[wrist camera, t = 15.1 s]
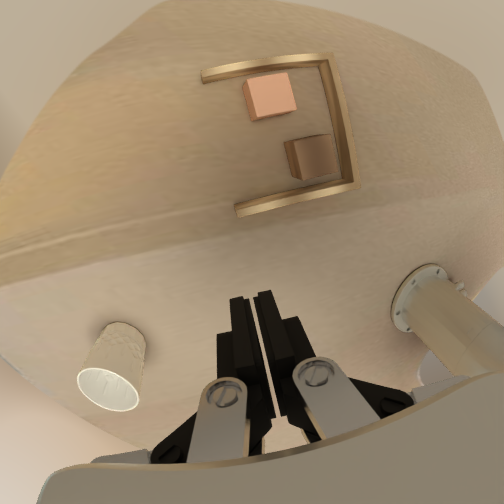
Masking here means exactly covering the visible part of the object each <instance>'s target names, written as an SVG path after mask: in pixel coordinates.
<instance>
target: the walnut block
mask: <svg viewBox="0 0 504 504" xmlns="http://www.w3.org/2000/svg"><path fill="white" fill-rule="evenodd" d="M284 146H285V149H286V153H287V157H288V161H289V165H290V169H291V173H292V176H293V177H295V178H298V179H300V180H307V179H311V178H315V177H319V176H323V175H326V174H331V173H335V172H339V171H338V166H337V162H336V157H335V152H334V148H333V143H332V139H331V135H330V134H323V135H314V136H309V137H305V138H300V139H296V140H291V141H287V142H284Z"/></svg>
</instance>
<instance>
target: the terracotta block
mask: <svg viewBox="0 0 504 504" xmlns="http://www.w3.org/2000/svg"><path fill="white" fill-rule="evenodd" d="M242 88H243V91H244V95H245V99H246V102H247V106H248V110H249V113H250V117H251V121H254V120H258V119H263V118H267V117H272V116H277V115H282V114H287V113H290V112H292V111H295V110H297V108H296V104H295V100H294V96H293V92H292V89H291V85H290V82H289V78H288V75H287V72H286V73H280V74H273V75H267V76H261V77H256V78H251V79H247V80H246V82H245V84H244V85H243V87H242Z"/></svg>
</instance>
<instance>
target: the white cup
mask: <svg viewBox="0 0 504 504" xmlns="http://www.w3.org/2000/svg"><path fill="white" fill-rule="evenodd" d="M145 349H146V343H145V340H144V337H143V335H142V334H141V333H140V332H139V331H138V330H137V329H136V328H134V327H132V326H130V325H129V324H127V323H120V322H115V323H112V324H108V325H107V326H106V327H105V329H104V330H103V331H102V333H101V335H100V336H99V338H98V339H97V340H96V342H95V344H94V346H93V347H92V349H91V351H90V352H89V354H88V356H87V358H86V360H85V362H84V364H83V366H82V368H81V370H80V372H79V374H78V376H77V383H78V386H79V388H80V390H81V392H82V393H83V394H84V395H85V396H86V397H87V398H88V399H89V400H91V401H92V402H93V403H95V404H97V405H99V406H101V407H103V408H106V409H109V410H113V411H128V410H131V409H133V408H135V407H136V406H137V405H138V402H139V396H140V389H141V382H142V376H143V368H144V354H145Z"/></svg>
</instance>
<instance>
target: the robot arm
mask: <svg viewBox="0 0 504 504" xmlns="http://www.w3.org/2000/svg"><path fill="white" fill-rule="evenodd" d="M463 287H464V282H463V281H462V280H461V281H459V282H457V283H456V284H453V283H452V282H450V281H449V280H448V276H447V273H446V272H445V270H444V269H443V268H441V267H440V266H438V265H435V264H428V265H425V266H422V267H420V268H418V269H417V270H415V271H414V272H413V273H412V274H411V275H409V277H408V278H407V279H406V280H405V281H404V282H403V284H402V285H401V286H400V288H399V290H398V292H397V293H396V296H395V298H394V301H393V304H392V310H391V317H392V321H393V323H394V325H395V326H396V327H397V328H398V329H399V330H400V331H402V332H406V333H409V332H414V333H415V334H416V335H417V336H418V337H419V338H420V339H421V340H422V341H423V342H424V343H425V345H426V346H427V347H428V348H429V349H430V350H431V351H432V352H433V353H434V354H435V355H436V357H437V358H438V359H439V360H440V361H441V362H442V363H443V364H444V365H445V367H446V368H447V369H448V370H449V371H450V372H451V373H452V375H453V376H454V377H452V378H449V379H446V380H443V381H439V382H436V383H432V384H429V385H425V386H421V387H417V388H413V389H412V391H411V392H409V393H406V392H403V391H401V390H397V389H393V388H388V387H384V386H380V385H376V384H372V383H368V382H364V381H360V380H356V379H353V378H349V377H347V376H346V375H345V373H344V372H343V371H342V370H341V368H340V367H339V366H338V365H337V364H336V363H335V362H334V361H333V360H331V359H329V358H325V357H316V355H315V353H314V351H313V349H312V346H311V344H310V342H309V340H308V338H307V335H306V333H305V331H304V329H303V326H302V324H301V322H300V320H299V318H298V316H295V317H291V318H287V319H283V320H282V319H281V316H280V314H279V311H278V308H277V305H276V303H275V300H274V297H273V294H272V291H271V290H268V291H263V292H259V293H258V296H257V297H253V299H254V304H255V308H256V312H257V317H258V321H259V325H260V330H261V334H262V338H263V343H264V347H265V351H266V356H267V360H268V364H269V368H270V373H271V377H272V381H273V385H274V389H275V394H276V398H277V402H278V406H279V410H280V414H281V417H282V416H286V415H287V418H288V422H289V423H290V424H292V425H294V426H296V427H299V428H300V429H301V432H302V434H303V436H304V438H305V440H306V442H307V445H303V446H299V447H295V448H291V449H286V450H282V451H277V452H272V453H267V454H265V439H264V436H265V434H266V433H267V432H268V431H269V430H270V429H271V427H272V423H271V419H273V418H276V414H275V410H274V405H273V401H272V396H271V392H270V387H269V383H268V378H267V374H266V369H265V365H264V360H263V355H262V351H261V347H260V343H259V339H258V335H257V330H256V326H255V322H254V318H253V314H252V310H251V305H250V301H249V298H248V299H244V298H243V296H241V297H236V298H232V299H230V313H231V325H232V331H230V332H225V333H220V334H217V379H216V380H214V381H212V382H211V383H209V384H208V385H207V386H206V387H205V388H204V389H203V392H202V394H201V398H200V402H199V407H198V411H197V412H196V413H195V414H194V415H193V416H191V417H190V418H189V419H188V420H187V421H186V422H184V423H183V424H182V425H181V426H180V427H178V428H177V429H176V430H175V431H174V432H172V433H171V434H170V435H169V436H168V437H166V438H165V439H164V440H163V441H161V442H160V443H159V444H158V445H157V446H156V447H155V448H154V449H153V450H152V451H148V450H147V449H143V450H138V451H132V452H127V453H121V454H115V455H108V456H101V457H98V458H96V459H94V460H93V461H92V462H91V463H88V464H79V465H74V466H70V467H66V468H63V469H60V470H58V471H56V472H54V473H52V474H51V475H50V476H49V477H48V478H47V480H46V481H45V483H44V485H43V487H42V489H41V492H40V494H39V497H38V500H37V503H36V504H504V327H503V326H502V325H501V324H500V323H498V322H497V321H496V320H495V319H493V318H492V317H491V316H490V315H488V314H487V313H486V312H485V311H484V310H482V309H481V308H480V307H478V306H477V305H476V304H474V303H473V302H472V301H471V300H469V299H468V298H467V292H466V290H465V289H462V288H463ZM460 289H461V290H460ZM458 290H460V291H458Z"/></svg>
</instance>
